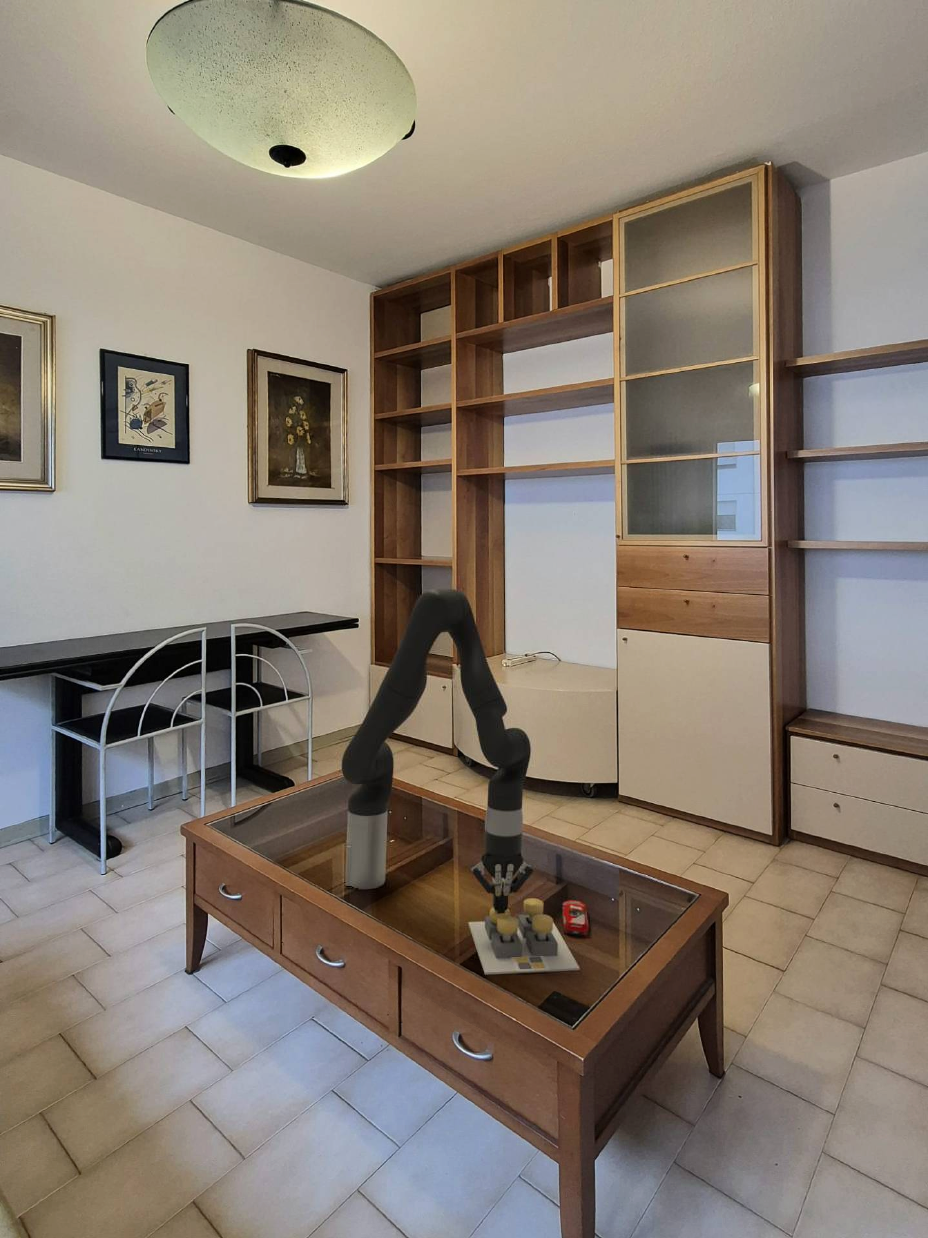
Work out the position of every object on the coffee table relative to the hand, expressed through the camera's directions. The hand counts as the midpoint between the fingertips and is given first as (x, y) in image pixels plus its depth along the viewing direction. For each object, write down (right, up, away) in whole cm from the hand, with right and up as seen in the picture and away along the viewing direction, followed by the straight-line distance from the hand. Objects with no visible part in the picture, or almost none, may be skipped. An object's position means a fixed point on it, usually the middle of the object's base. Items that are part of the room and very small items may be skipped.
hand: (500, 911), depth 143 cm
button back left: (0, -4, 0) cm, 4 cm away
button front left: (+1, -3, -7) cm, 7 cm away
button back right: (+7, -3, +1) cm, 7 cm away
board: (+4, -5, -4) cm, 7 cm away
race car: (+16, -6, +7) cm, 19 cm away
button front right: (+8, -3, -6) cm, 10 cm away
